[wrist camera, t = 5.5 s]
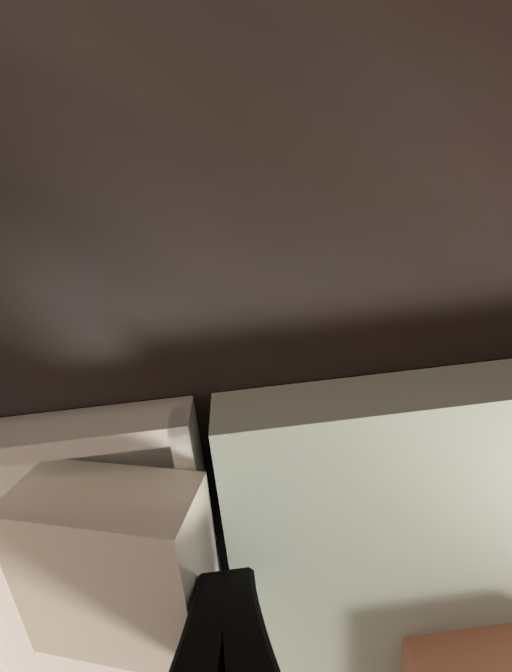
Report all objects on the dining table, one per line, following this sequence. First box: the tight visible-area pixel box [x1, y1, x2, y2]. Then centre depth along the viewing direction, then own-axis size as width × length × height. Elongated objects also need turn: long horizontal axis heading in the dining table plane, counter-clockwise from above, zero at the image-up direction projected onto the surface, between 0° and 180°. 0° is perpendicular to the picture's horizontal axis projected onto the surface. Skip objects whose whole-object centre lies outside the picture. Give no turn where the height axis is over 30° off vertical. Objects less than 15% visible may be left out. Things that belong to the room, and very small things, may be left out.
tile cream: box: [0, 459, 219, 672], centre depth 10 cm, size 4×4×2 cm
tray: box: [0, 395, 222, 672], centre depth 11 cm, size 10×14×4 cm
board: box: [208, 359, 512, 672], centre depth 12 cm, size 14×14×2 cm
